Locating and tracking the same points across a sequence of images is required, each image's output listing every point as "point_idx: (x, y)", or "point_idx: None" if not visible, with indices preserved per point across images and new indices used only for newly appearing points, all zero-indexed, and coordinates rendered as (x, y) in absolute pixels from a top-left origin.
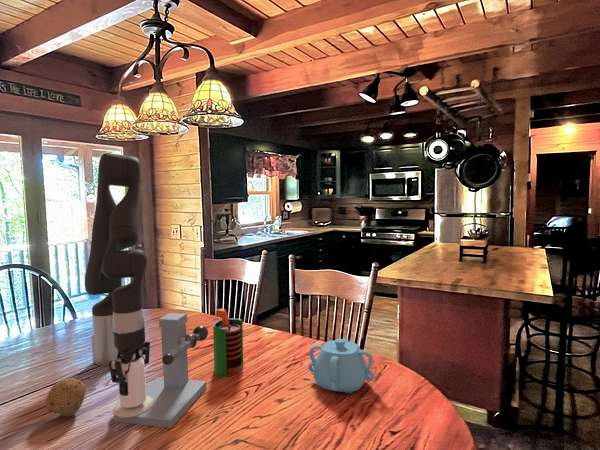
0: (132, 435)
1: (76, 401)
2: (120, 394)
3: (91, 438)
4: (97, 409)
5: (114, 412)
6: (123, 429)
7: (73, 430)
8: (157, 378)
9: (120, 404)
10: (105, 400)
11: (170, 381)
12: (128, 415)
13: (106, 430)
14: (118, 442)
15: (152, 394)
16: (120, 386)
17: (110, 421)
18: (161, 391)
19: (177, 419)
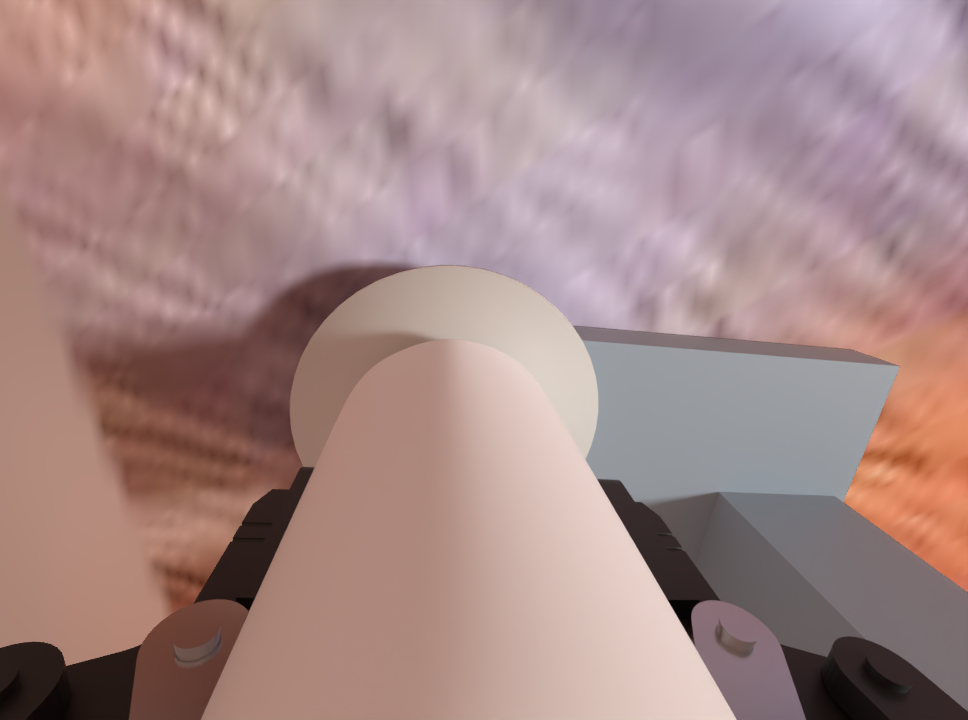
0: (222, 506)
1: None
2: (324, 447)
3: (110, 262)
4: (484, 45)
5: (330, 326)
6: (266, 421)
7: (152, 22)
8: (873, 376)
9: (358, 382)
10: (630, 30)
11: (735, 577)
12: (310, 458)
13: (227, 314)
14: (134, 466)
15: (623, 461)
16: (216, 585)
17: (335, 277)
18: (661, 501)
19: None
